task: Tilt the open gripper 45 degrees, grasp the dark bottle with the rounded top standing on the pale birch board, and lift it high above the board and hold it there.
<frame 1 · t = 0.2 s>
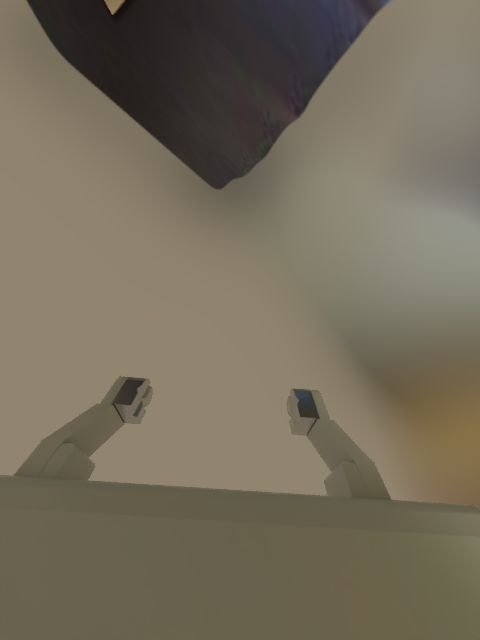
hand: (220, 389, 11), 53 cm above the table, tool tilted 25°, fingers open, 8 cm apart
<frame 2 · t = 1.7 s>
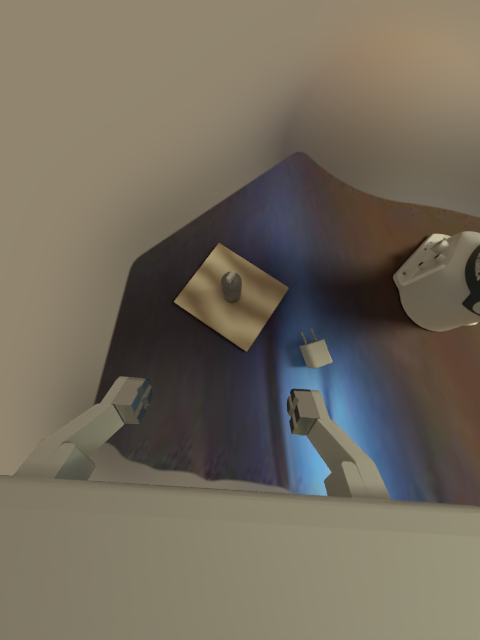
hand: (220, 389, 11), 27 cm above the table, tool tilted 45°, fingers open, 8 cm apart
birch board: (232, 296, 40), on the table
usb wall charger: (308, 347, 38), on the table
dark bottle: (232, 294, 39), point 1 cm above the table, touching birch board
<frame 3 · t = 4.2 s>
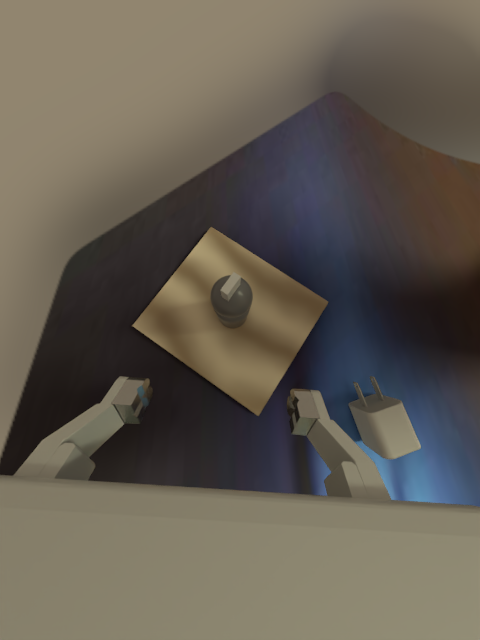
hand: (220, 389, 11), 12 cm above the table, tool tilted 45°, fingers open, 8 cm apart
birch board: (232, 315, 24), on the table
usb wall charger: (362, 405, 23), on the table
dark bottle: (232, 313, 23), point 1 cm above the table, touching birch board
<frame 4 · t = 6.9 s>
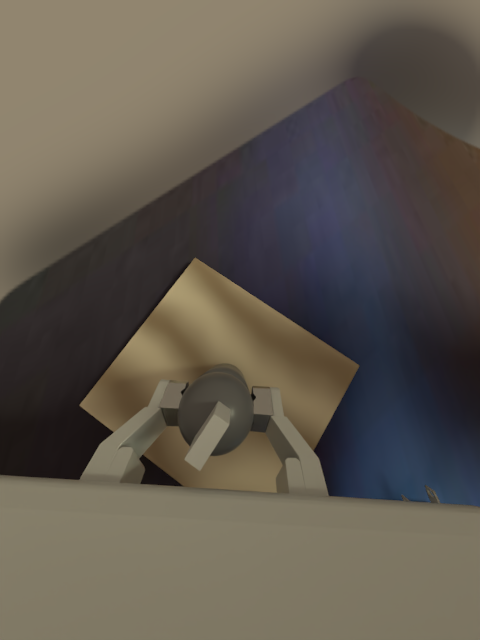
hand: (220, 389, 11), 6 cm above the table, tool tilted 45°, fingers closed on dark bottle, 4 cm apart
birch board: (225, 382, 17), on the table
dark bottle: (224, 384, 16), point 1 cm above the table, touching birch board, gripper
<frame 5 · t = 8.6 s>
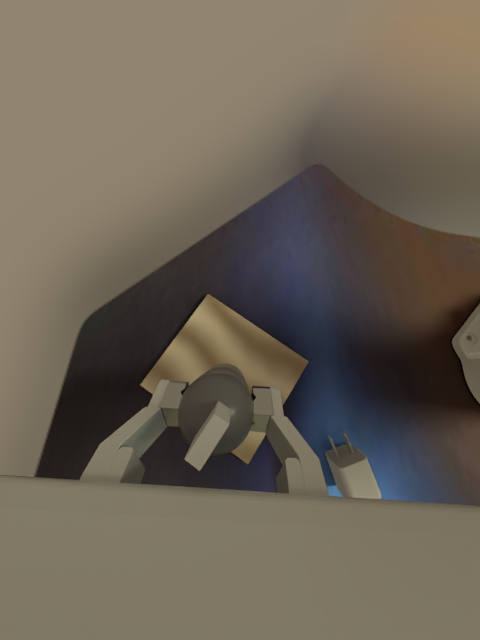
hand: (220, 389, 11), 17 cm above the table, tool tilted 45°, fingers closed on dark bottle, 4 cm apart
birch board: (226, 372, 27), on the table
usb wall charger: (337, 452, 26), on the table
dark bottle: (224, 384, 16), point 12 cm above the table, touching gripper
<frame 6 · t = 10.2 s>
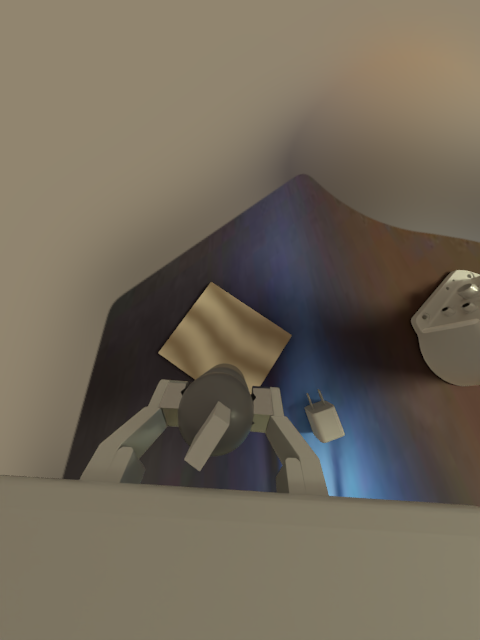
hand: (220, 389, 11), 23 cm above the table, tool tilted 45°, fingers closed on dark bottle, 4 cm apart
birch board: (226, 344, 34), on the table
usb wall charger: (314, 408, 33), on the table
dark bottle: (224, 384, 16), point 18 cm above the table, touching gripper
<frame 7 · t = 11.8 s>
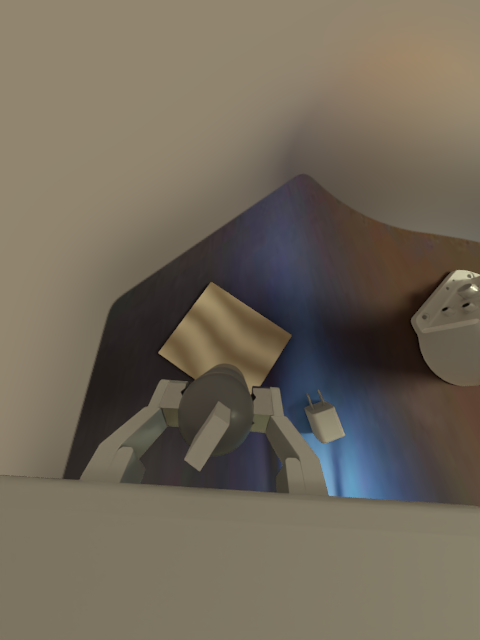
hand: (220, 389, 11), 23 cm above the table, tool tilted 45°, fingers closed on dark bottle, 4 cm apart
birch board: (226, 344, 34), on the table
usb wall charger: (314, 408, 33), on the table
dark bottle: (224, 384, 16), point 18 cm above the table, touching gripper
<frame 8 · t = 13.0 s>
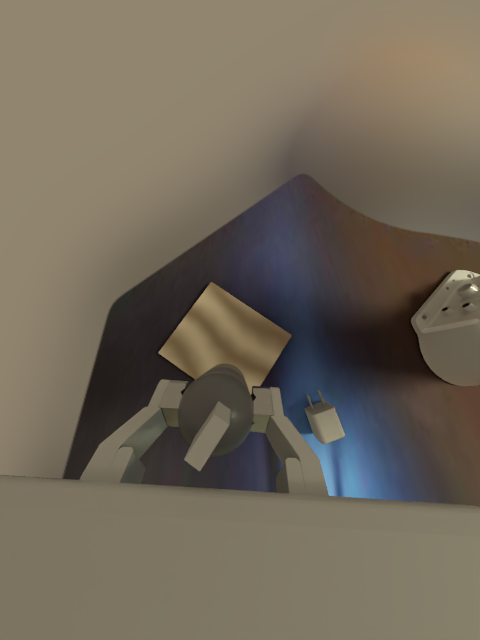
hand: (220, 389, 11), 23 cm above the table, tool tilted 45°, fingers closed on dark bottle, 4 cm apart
birch board: (226, 344, 34), on the table
usb wall charger: (315, 409, 33), on the table
dark bottle: (224, 384, 16), point 18 cm above the table, touching gripper
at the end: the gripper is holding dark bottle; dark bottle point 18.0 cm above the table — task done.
